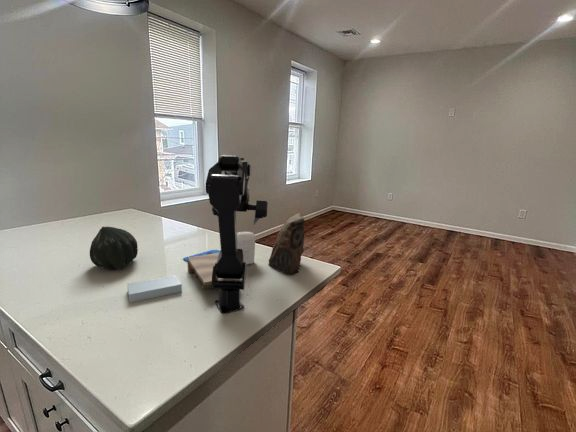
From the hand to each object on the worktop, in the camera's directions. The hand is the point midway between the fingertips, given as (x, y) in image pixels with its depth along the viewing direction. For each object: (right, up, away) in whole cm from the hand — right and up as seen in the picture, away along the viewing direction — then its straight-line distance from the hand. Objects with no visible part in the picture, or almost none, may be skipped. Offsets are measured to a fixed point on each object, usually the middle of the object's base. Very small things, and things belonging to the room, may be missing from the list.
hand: (241, 223), depth 113 cm
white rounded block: (0, -15, +1) cm, 15 cm away
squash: (-43, -15, -5) cm, 46 cm away
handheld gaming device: (-15, -14, +5) cm, 21 cm away
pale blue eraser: (-23, -20, -21) cm, 37 cm away
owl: (+16, -16, +1) cm, 23 cm away
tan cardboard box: (-8, -18, -12) cm, 24 cm away
